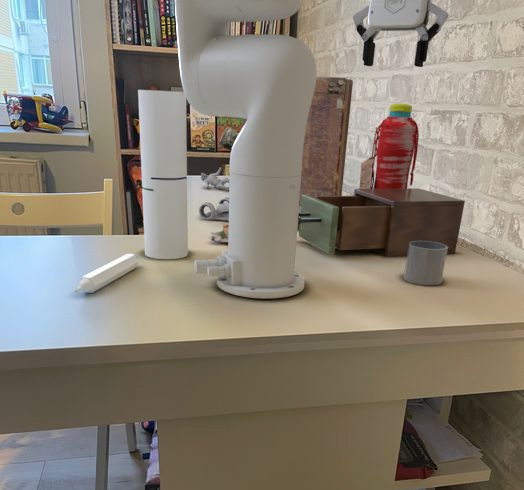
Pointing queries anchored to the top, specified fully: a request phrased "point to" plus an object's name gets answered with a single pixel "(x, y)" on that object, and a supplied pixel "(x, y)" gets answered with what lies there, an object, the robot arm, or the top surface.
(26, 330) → the top surface
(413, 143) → the water bottle
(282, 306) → the top surface
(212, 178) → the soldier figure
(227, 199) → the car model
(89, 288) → the marker
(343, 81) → the book
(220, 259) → the robot arm
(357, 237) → the drawer
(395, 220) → the cabinet
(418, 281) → the tin
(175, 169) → the cylindrical container
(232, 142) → the plant with pod
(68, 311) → the top surface
